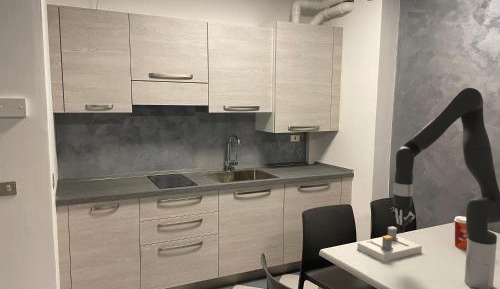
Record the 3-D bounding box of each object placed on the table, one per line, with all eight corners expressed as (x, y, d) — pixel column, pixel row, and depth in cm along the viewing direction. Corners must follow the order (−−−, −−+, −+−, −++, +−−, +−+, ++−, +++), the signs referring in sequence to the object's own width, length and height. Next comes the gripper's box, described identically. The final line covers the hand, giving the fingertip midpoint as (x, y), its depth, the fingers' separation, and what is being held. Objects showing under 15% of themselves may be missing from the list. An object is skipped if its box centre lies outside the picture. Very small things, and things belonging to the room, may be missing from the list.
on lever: (391, 240, 175) (391, 229, 174) (385, 238, 177) (386, 227, 177) (397, 239, 177) (398, 227, 176) (392, 237, 179) (393, 225, 179)
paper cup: (461, 250, 172) (463, 221, 170) (448, 244, 179) (450, 216, 178) (474, 248, 174) (477, 220, 172) (461, 242, 181) (463, 215, 180)
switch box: (383, 261, 159) (383, 254, 158) (357, 248, 173) (357, 242, 173) (421, 252, 169) (421, 245, 169) (393, 240, 184) (394, 234, 183)
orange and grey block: (386, 250, 162) (386, 238, 161) (380, 248, 165) (381, 236, 164) (393, 249, 164) (393, 237, 163) (387, 246, 167) (388, 234, 166)
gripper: (422, 196, 151) (419, 236, 154) (397, 189, 163) (394, 226, 165) (409, 198, 148) (406, 239, 150) (384, 190, 160) (382, 228, 162)
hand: (400, 232), depth 158 cm, fingers closed
